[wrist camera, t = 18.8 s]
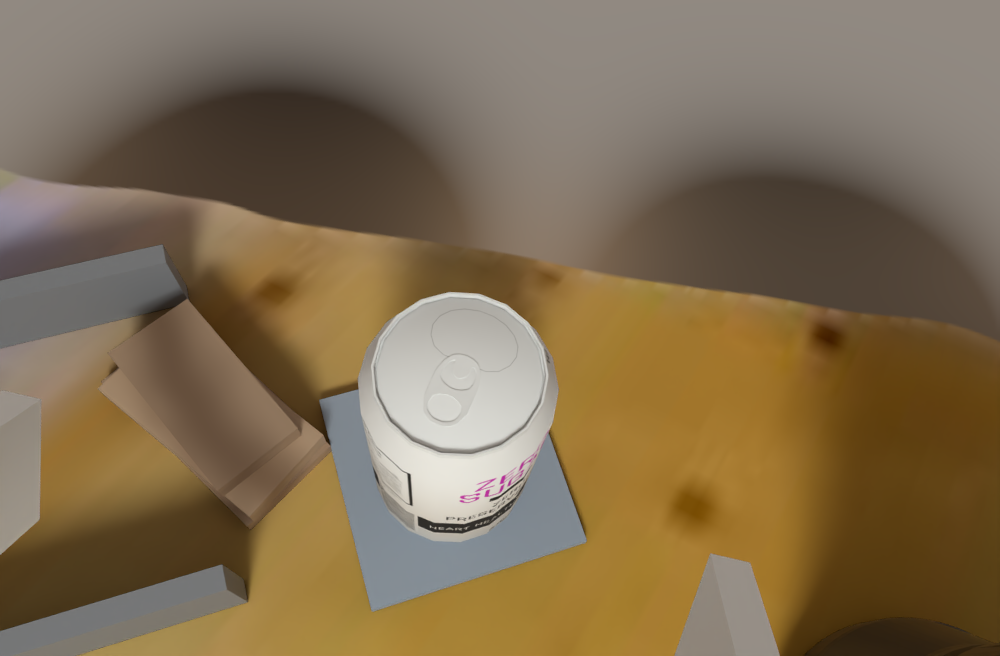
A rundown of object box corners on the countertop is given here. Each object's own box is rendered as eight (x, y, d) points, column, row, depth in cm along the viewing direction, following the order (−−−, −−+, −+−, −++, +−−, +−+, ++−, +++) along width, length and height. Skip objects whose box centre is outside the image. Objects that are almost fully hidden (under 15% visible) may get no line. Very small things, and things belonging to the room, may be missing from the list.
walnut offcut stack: (194, 318, 50) (176, 289, 46) (336, 450, 47) (329, 429, 44) (103, 394, 48) (77, 369, 44) (247, 537, 45) (232, 522, 41)
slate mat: (516, 350, 50) (517, 346, 50) (585, 542, 46) (587, 540, 45) (320, 403, 48) (319, 399, 47) (372, 611, 43) (371, 610, 43)
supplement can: (412, 380, 48) (406, 251, 35) (544, 433, 48) (591, 322, 34) (351, 509, 45) (317, 422, 31) (492, 568, 44) (521, 505, 31)
